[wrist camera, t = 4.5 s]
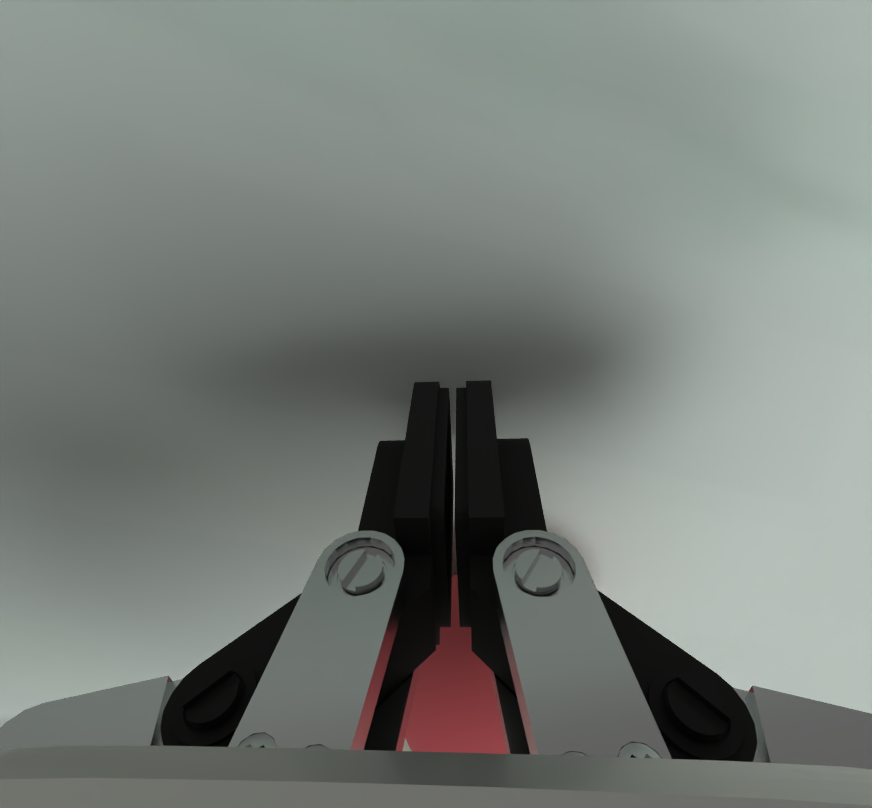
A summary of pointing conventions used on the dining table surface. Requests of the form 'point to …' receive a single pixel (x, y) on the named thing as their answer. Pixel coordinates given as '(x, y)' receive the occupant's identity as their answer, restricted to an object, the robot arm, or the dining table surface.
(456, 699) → the ball
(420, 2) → the dining table surface
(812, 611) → the dining table surface
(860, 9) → the dining table surface
